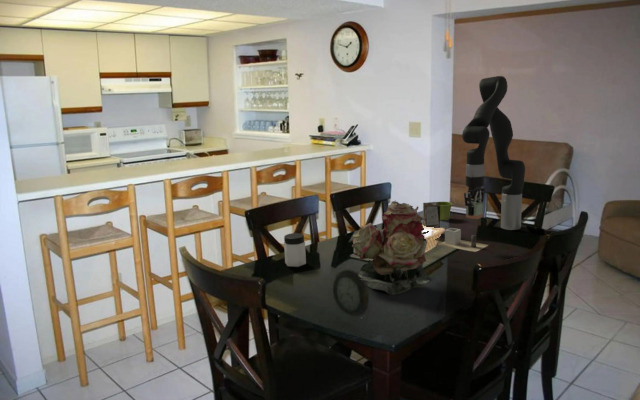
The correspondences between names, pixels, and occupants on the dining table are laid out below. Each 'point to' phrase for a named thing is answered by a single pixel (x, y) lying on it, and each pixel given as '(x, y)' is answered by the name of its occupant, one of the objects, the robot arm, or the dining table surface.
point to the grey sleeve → (452, 236)
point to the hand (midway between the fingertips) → (474, 214)
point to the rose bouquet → (393, 250)
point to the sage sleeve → (476, 211)
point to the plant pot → (444, 210)
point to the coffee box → (431, 214)
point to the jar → (294, 250)
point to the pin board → (467, 245)
